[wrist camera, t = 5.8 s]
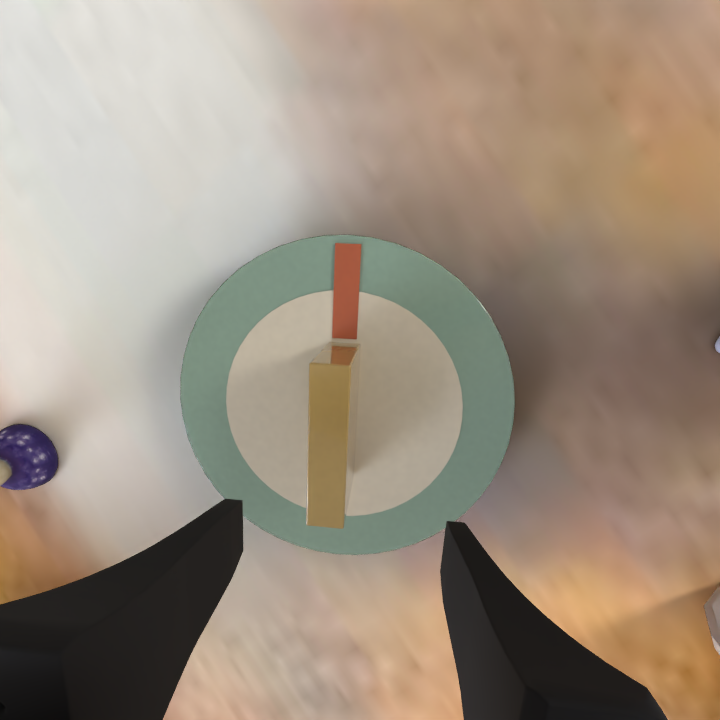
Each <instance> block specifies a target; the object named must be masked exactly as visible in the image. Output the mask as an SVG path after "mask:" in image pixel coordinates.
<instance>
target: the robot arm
mask: <svg viewBox="0 0 720 720" xmlns="http://www.w3.org/2000/svg"><path fill="white" fill-rule="evenodd" d="M715 349H716V351H717V352H719V353H720V336H719V338H718V339H717V341H716V343H715ZM242 552H243V500H235V499H225V500H223V501H221V502H220V503H218V504H217V505H215V506H214V507H212V508H211V509H209V510H208V511H206V512H205V513H203V514H202V515H200V516H199V517H197V518H196V519H194V520H193V521H191V522H190V523H188V524H187V525H185V526H184V527H182V528H181V529H179V530H178V531H176V532H174V533H173V534H171V535H169V536H168V537H166V538H164V539H163V540H161V541H160V542H158V543H156V544H155V545H153V546H151V547H149V548H147V549H146V550H144V551H142V552H140V553H138V554H136V555H134V556H132V557H130V558H128V559H126V560H124V561H122V562H120V563H118V564H116V565H113V566H111V567H109V568H106V569H104V570H102V571H99V572H97V573H95V574H92V575H90V576H88V577H85V578H83V579H80V580H77V581H75V582H72V583H69V584H67V585H64V586H61V587H58V588H55V589H52V590H49V591H46V592H43V593H40V594H36V595H33V596H29V597H26V598H22V599H19V600H15V601H12V602H8V603H5V604H1V605H0V720H163V717H164V715H165V713H166V710H167V708H168V705H169V703H170V701H171V698H172V696H173V693H174V691H175V689H176V686H177V684H178V682H179V680H180V677H181V675H182V673H183V671H184V668H185V666H186V664H187V661H188V659H189V657H190V655H191V653H192V651H193V649H194V647H195V645H196V643H197V641H198V639H199V637H200V635H201V634H202V632H203V630H204V628H205V626H206V625H207V623H208V621H209V619H210V617H211V616H212V614H213V612H214V610H215V608H216V607H217V605H218V603H219V601H220V599H221V597H222V596H223V594H224V592H225V590H226V588H227V586H228V585H229V583H230V581H231V579H232V577H233V574H234V572H235V570H236V567H237V565H238V562H239V560H240V557H241V554H242ZM440 574H441V586H442V596H443V604H444V609H445V614H446V619H447V624H448V629H449V634H450V639H451V644H452V649H453V653H454V658H455V663H456V668H457V673H458V678H459V684H460V690H461V699H462V707H463V716H464V720H668V719H667V718H666V716H665V714H664V713H663V711H662V709H661V708H660V706H659V705H658V703H657V702H656V700H655V699H654V698H653V696H652V695H651V693H650V692H649V690H648V689H647V688H646V687H645V686H643V685H641V684H640V683H638V682H637V681H635V680H633V679H632V678H630V677H629V676H627V675H625V674H624V673H622V672H621V671H619V670H617V669H616V668H614V667H613V666H611V665H609V664H608V663H606V662H605V661H603V660H602V659H601V658H599V657H598V656H596V655H595V654H593V653H592V652H591V651H589V650H588V649H586V648H585V647H584V646H582V645H581V644H580V643H578V642H577V641H576V640H574V639H573V638H572V637H570V636H569V635H568V634H567V633H565V632H564V631H563V630H562V629H561V628H559V627H558V626H557V625H556V624H555V623H553V622H552V621H551V620H550V619H549V618H547V617H546V616H545V615H544V614H543V613H542V612H541V611H540V610H539V609H538V608H536V607H535V606H534V605H533V604H532V603H531V602H530V601H529V600H528V599H527V598H526V597H525V596H524V595H523V594H522V593H521V592H520V591H519V590H518V589H517V588H516V587H515V586H514V585H513V583H512V582H511V581H510V580H509V579H508V578H507V577H506V576H505V574H504V573H503V572H502V571H501V570H500V569H499V567H498V566H497V565H496V564H495V562H494V561H493V560H492V559H491V557H490V556H489V555H488V554H487V552H486V551H485V550H484V548H483V547H482V546H481V544H480V543H479V542H478V540H477V539H476V537H475V536H474V535H473V533H472V532H471V531H470V529H469V528H468V526H467V525H466V524H465V523H462V522H452V521H446V529H445V537H444V546H443V554H442V562H441V570H440Z"/></svg>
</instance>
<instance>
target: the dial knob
mask: <svg viewBox="0 0 720 720" xmlns="http://www.w3.org/2000/svg"><path fill="white" fill-rule="evenodd" d="M180 398H181V406H182V414H183V420H184V424H185V428H186V432H187V436H188V439H189V441H190V444H191V446H192V449H193V451H194V454H195V456H196V458H197V460H198V462H199V464H200V465H201V467H202V469H203V471H204V473H205V474H206V476H207V477H208V478H209V480H210V481H211V483H212V484H213V485H214V487H215V488H216V490H217V491H218V492H219V493H220V494H221V495H222V496H223V497H224V498H225V499H235V500H243V516H244V517H245V518H246V519H248V520H249V521H251V522H252V523H254V524H255V525H256V526H258V527H259V528H261V529H263V530H264V531H266V532H268V533H270V534H272V535H274V536H276V537H277V538H280V539H282V540H285V541H287V542H290V543H292V544H295V545H297V546H301V547H304V548H308V549H311V550H315V551H320V552H327V553H333V554H347V555H362V554H376V553H381V552H387V551H392V550H397V549H400V548H403V547H406V546H409V545H413V544H415V543H417V542H420V541H422V540H424V539H426V538H429V537H431V536H433V535H435V534H436V533H438V532H439V531H441V530H443V529H444V528H446V521H452V522H454V521H456V520H457V519H458V518H459V517H461V516H462V515H463V514H464V513H466V511H467V510H468V509H469V508H470V507H471V506H472V505H473V504H474V503H475V502H476V501H477V500H478V499H479V498H480V497H481V495H482V494H483V492H484V491H485V490H486V488H487V487H488V486H489V484H490V483H491V482H492V480H493V478H494V476H495V474H496V472H497V470H498V469H499V467H500V465H501V463H502V460H503V458H504V455H505V452H506V450H507V447H508V444H509V440H510V436H511V431H512V427H513V420H514V407H515V395H514V380H513V375H512V370H511V366H510V361H509V357H508V354H507V351H506V349H505V346H504V343H503V340H502V338H501V335H500V334H499V332H498V330H497V328H496V326H495V324H494V322H493V320H492V319H491V317H490V315H489V314H488V312H487V311H486V310H485V308H484V307H483V306H482V304H481V303H480V301H479V300H478V299H477V297H476V296H475V295H474V294H473V293H472V292H471V291H470V290H469V289H468V288H467V287H466V286H465V285H464V284H463V283H462V282H461V281H460V280H459V279H458V278H457V277H455V276H454V275H453V274H451V273H450V272H449V271H448V270H446V269H445V268H444V267H442V266H441V265H440V264H438V263H436V262H435V261H433V260H431V259H429V258H428V257H426V256H424V255H422V254H421V253H419V252H416V251H414V250H411V249H409V248H407V247H404V246H402V245H399V244H397V243H393V242H389V241H385V240H381V239H377V238H373V237H365V236H356V235H324V236H318V237H312V238H306V239H301V240H297V241H294V242H291V243H288V244H285V245H281V246H279V247H276V248H274V249H272V250H270V251H268V252H266V253H264V254H262V255H260V256H258V257H256V258H255V259H253V260H252V261H250V262H249V263H247V264H246V265H244V266H243V267H241V268H240V269H239V270H237V271H236V272H235V273H234V274H233V275H232V276H231V277H230V278H228V279H227V280H226V281H225V282H224V283H223V284H222V285H221V286H220V288H219V289H218V290H217V291H216V292H215V293H214V295H213V296H212V297H211V298H210V299H209V301H208V302H207V304H206V306H205V307H204V309H203V310H202V312H201V314H200V315H199V317H198V319H197V321H196V323H195V325H194V328H193V330H192V332H191V334H190V337H189V340H188V343H187V347H186V350H185V354H184V357H183V364H182V371H181V390H180Z"/></svg>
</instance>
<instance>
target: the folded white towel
mask: <svg viewBox="0 0 720 720" xmlns="http://www.w3.org/2000/svg"><path fill="white" fill-rule="evenodd" d="M704 609H705V613H706V617H707V621H708V625H709V629H710V632H711V636H712V640H713V644H714V647H715V649H716V651H717V652H718V653H719V655H720V587H717V589H716V590H715V591H714V593H713V594H712V595H711V597H710V598H709V599H708V601H707V602H706V603H705V605H704Z"/></svg>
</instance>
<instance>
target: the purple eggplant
mask: <svg viewBox="0 0 720 720" xmlns="http://www.w3.org/2000/svg"><path fill="white" fill-rule="evenodd" d="M57 467H58V457H57V452H56V450H55V448H54V446H53V444H52V442H51V441H50V440H49V438H48V437H47V436H46V435H45V434H44V433H43V432H41V431H40V430H38V429H36V428H34V427H32V426H29V425H23V424H17V425H11V426H9V427H6V428H4V429H3V430H1V431H0V486H2V487H4V488H7V489H12V490H25V489H31V488H35V487H38V486H40V485H43V484H45V483H47V482H48V481H50V480H51V478H52V477H53V476H54V475H55V472H56V470H57Z"/></svg>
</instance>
